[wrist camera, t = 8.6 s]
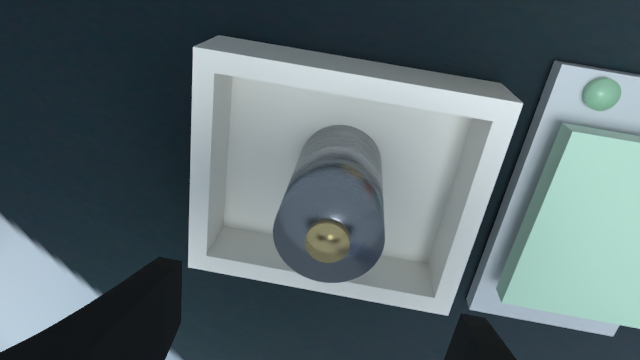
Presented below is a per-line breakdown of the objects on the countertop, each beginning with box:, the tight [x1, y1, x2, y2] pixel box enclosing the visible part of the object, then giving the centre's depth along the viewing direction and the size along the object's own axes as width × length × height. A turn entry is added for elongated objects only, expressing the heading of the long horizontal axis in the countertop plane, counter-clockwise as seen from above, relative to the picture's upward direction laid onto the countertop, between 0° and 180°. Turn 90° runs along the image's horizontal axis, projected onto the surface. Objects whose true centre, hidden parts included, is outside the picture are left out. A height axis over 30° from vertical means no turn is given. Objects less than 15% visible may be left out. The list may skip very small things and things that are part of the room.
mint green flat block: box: [496, 123, 640, 329], centre depth 18 cm, size 8×6×1 cm
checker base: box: [466, 60, 640, 336], centre depth 20 cm, size 12×7×1 cm, turn 172°
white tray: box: [188, 35, 523, 316], centre depth 19 cm, size 10×12×3 cm
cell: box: [273, 125, 385, 283], centre depth 17 cm, size 4×4×6 cm
